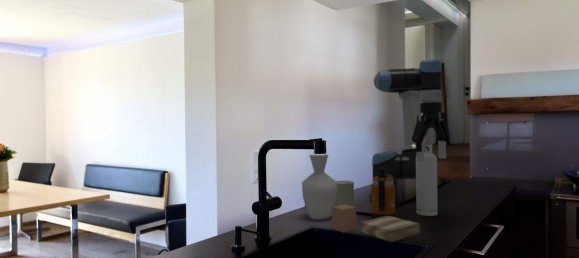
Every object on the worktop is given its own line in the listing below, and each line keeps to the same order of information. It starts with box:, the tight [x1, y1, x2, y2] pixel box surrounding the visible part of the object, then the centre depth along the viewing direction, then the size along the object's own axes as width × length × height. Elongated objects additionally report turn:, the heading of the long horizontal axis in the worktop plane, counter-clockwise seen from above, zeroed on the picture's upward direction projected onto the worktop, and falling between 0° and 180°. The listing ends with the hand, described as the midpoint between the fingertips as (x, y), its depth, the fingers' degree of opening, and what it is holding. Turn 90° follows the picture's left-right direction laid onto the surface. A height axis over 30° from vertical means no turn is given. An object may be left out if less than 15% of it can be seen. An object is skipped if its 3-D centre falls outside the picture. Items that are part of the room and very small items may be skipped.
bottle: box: [415, 143, 438, 217], centre depth 160 cm, size 8×8×28 cm
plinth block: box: [359, 216, 421, 243], centre depth 134 cm, size 14×14×4 cm
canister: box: [370, 167, 396, 219], centre depth 153 cm, size 9×11×20 cm
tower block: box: [331, 204, 357, 233], centre depth 140 cm, size 6×6×8 cm
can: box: [334, 180, 355, 207], centre depth 173 cm, size 9×9×12 cm
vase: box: [301, 153, 337, 221], centre depth 158 cm, size 14×14×25 cm
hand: (431, 159), depth 146 cm, fingers open, 13 cm apart
